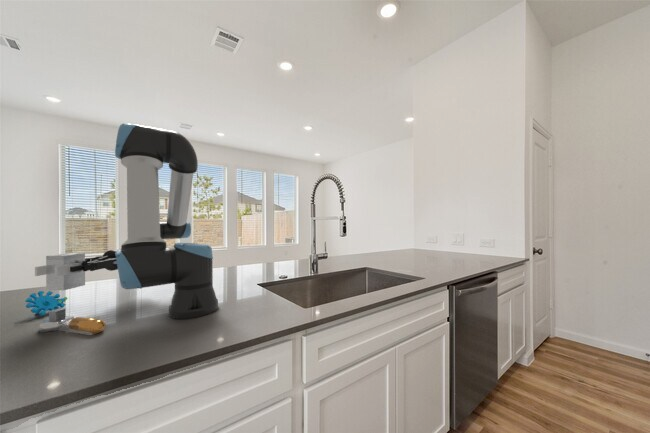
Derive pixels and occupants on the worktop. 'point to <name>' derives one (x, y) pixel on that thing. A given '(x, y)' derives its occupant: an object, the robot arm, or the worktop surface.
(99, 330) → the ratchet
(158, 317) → the worktop surface
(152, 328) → the worktop surface
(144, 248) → the robot arm
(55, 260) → the brushed metal block
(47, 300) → the gear
